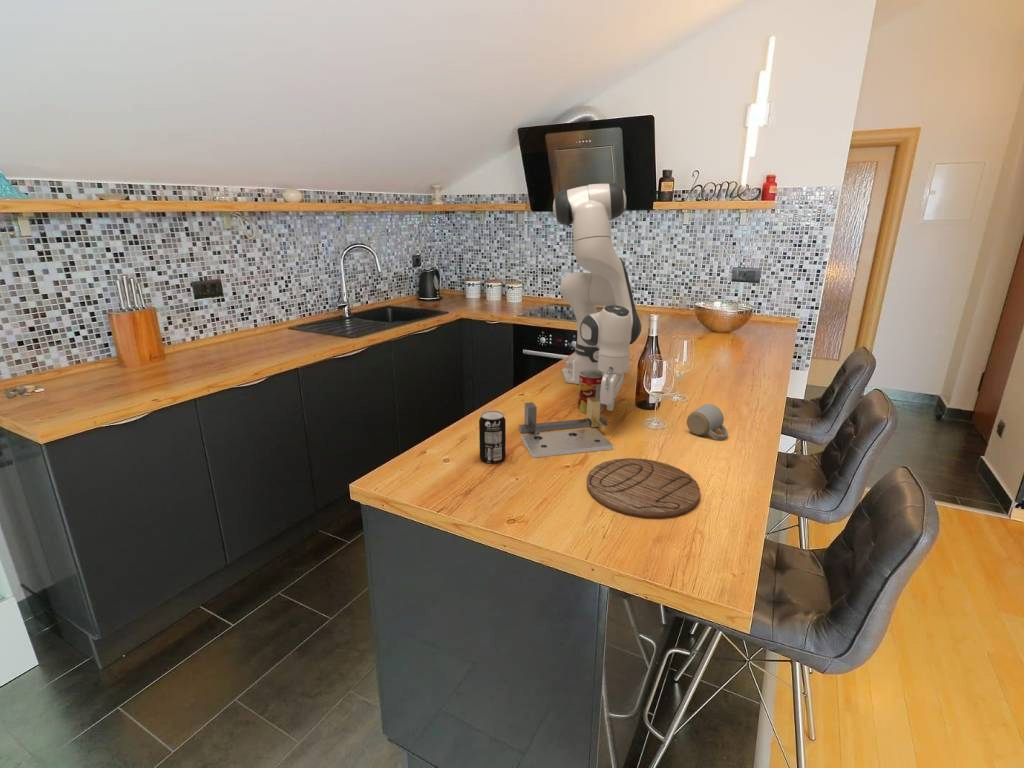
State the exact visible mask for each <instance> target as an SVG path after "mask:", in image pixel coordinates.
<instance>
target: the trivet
mask: <svg viewBox="0 0 1024 768" xmlns="http://www.w3.org/2000/svg"><path fill="white" fill-rule="evenodd" d="M586 490H587V492H588V494H589V495H590V496H591V498H592V499H593V500H594V501H596V502H597V503H598V504H599V505H601V506H602V507H604V508H607V509H609V510H610V511H612V512H616V513H618V514H621V515H625V516H628V517H633V518H638V519H653V520H654V519H655V520H661V519H669V518H672V519H673V518H676V517H680V516H683V515H687V514H688V513H689V512H691V511H692V510H695V508H696V506H697V505H698V504H699V502H700V494H701V488H700V485H699V484H698V482H697V481H696V480H695V479H694V478H693V477H692V476H691V475H690V474H689V473H687V472H686V471H684V470H682V469H680V468H678V467H676V466H674V465H670V464H669V463H665V462H661V461H657V460H652V459H646V458H635V457H634V458H631V457H629V458H628V457H626V458H616V459H612V460H611V459H610V460H607V461H603V462H601V463H599V464H596V465H595V466H594V467H593V468H591V469H590V470H589V471H588V474H587V476H586Z"/></svg>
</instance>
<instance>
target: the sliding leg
mask: <svg viewBox="0 0 1024 768" xmlns="http://www.w3.org/2000/svg"><path fill="white" fill-rule="evenodd" d="M600 414H601V413H600V401H599V400H598V399H597V398H596V397H591V398H587V414H586V417H585V419H589V420H590V421H591V427H590V428H599V427H600V428H601V429H602V430H603V429H604V430H605V429H606V425H603V424H602V423H601V422H600V421H599V418H601V417H600Z"/></svg>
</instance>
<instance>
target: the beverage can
mask: <svg viewBox="0 0 1024 768" xmlns="http://www.w3.org/2000/svg"><path fill="white" fill-rule="evenodd" d="M506 421H507V420H506V418H505V414H504V413H503V411H499V410H486V411H483V412H482V413H480V418H479V419H478V424H479V425H478V430H479V436H478V438H479V457H480V460H482V461H483V462H485V463H488V464H497V463H501V462H502V461H503V460H504V459H505V458H506V455H507V454H506V453H507V451H506V447H507V445H506V443H507V442H506V441H507V439H506V435H507V434H506V431H507V430H506V424H507V423H506Z"/></svg>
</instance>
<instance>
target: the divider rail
mask: <svg viewBox="0 0 1024 768" xmlns="http://www.w3.org/2000/svg"><path fill="white" fill-rule="evenodd" d="M537 411H538V410H537V405H536V404H535V403H534V401H531V402H524V424H518V430H520V431H519V433H520V434H528V433H527V432H530V433H534V434H536V435H540V433H541V432H549V431H550V432H552V431H563V430H569V429H570V430H574V429H583V428H592V427H591V421H590V420H589V419H586V418H581V419H579V418H578V419H571V420H561V421H558V420H557V421H548V422H537V414H538V413H537ZM599 421H600V422H601V423H602V424H603V425H605V426H607V425H608V420H607V419H606V418H605V417H602V416H601V417H599ZM539 431H541V432H539Z"/></svg>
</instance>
